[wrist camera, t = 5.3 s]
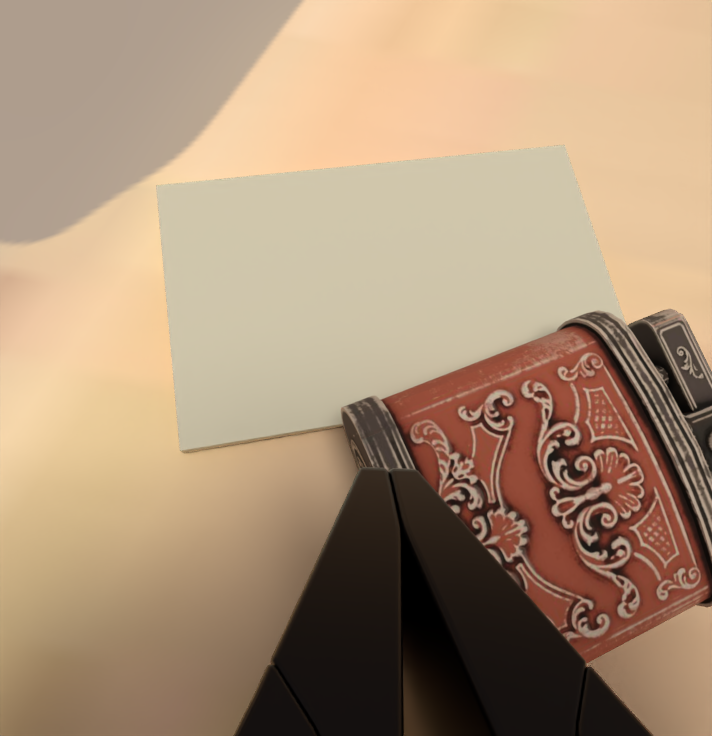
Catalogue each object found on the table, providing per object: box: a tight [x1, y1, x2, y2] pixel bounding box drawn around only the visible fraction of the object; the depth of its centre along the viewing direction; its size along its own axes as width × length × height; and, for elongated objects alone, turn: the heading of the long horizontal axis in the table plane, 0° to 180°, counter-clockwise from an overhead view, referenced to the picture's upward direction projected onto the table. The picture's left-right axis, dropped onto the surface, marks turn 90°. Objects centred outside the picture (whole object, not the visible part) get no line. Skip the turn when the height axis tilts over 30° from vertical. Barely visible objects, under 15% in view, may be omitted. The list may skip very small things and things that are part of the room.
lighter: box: [341, 309, 712, 663], centre depth 13 cm, size 8×3×10 cm
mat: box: [156, 145, 626, 453], centre depth 16 cm, size 14×8×1 cm, turn 100°
